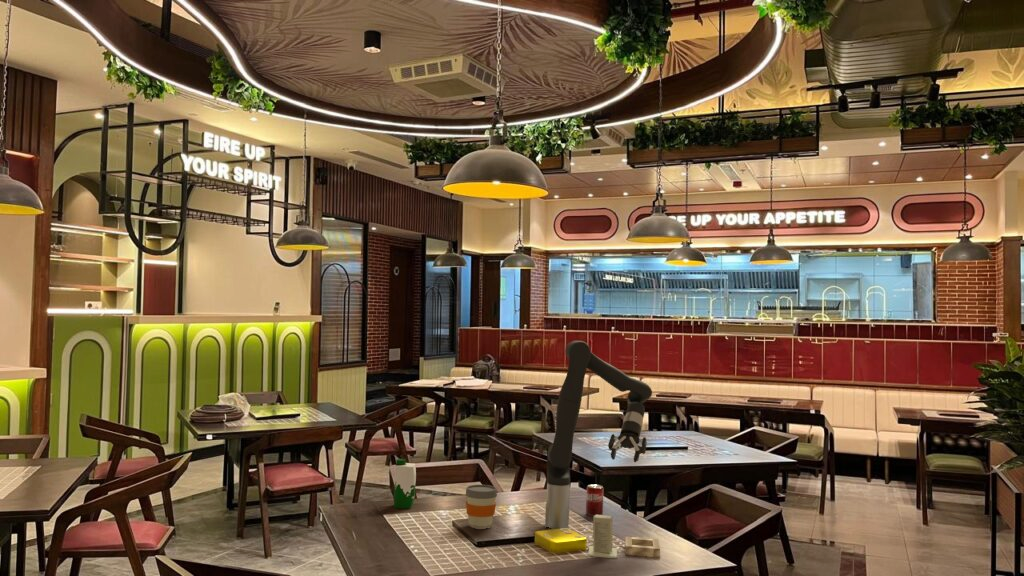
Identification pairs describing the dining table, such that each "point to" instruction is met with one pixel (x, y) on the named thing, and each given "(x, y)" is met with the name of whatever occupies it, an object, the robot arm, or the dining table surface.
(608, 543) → the skincare box
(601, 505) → the soda can
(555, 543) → the element tile
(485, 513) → the reusable coffee cup
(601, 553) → the coaster
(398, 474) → the milk carton
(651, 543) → the pocket block
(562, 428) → the robot arm
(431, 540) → the dining table surface
